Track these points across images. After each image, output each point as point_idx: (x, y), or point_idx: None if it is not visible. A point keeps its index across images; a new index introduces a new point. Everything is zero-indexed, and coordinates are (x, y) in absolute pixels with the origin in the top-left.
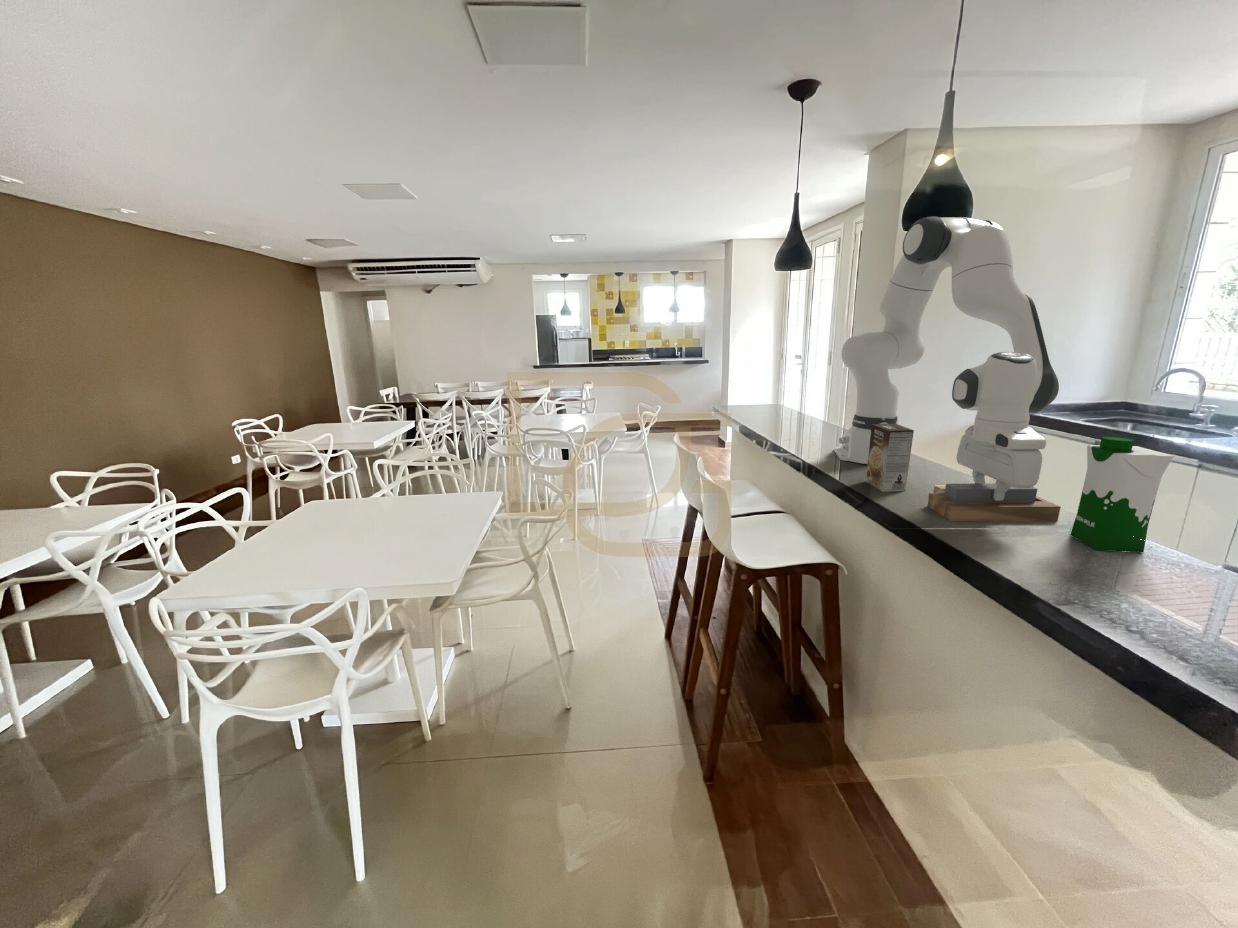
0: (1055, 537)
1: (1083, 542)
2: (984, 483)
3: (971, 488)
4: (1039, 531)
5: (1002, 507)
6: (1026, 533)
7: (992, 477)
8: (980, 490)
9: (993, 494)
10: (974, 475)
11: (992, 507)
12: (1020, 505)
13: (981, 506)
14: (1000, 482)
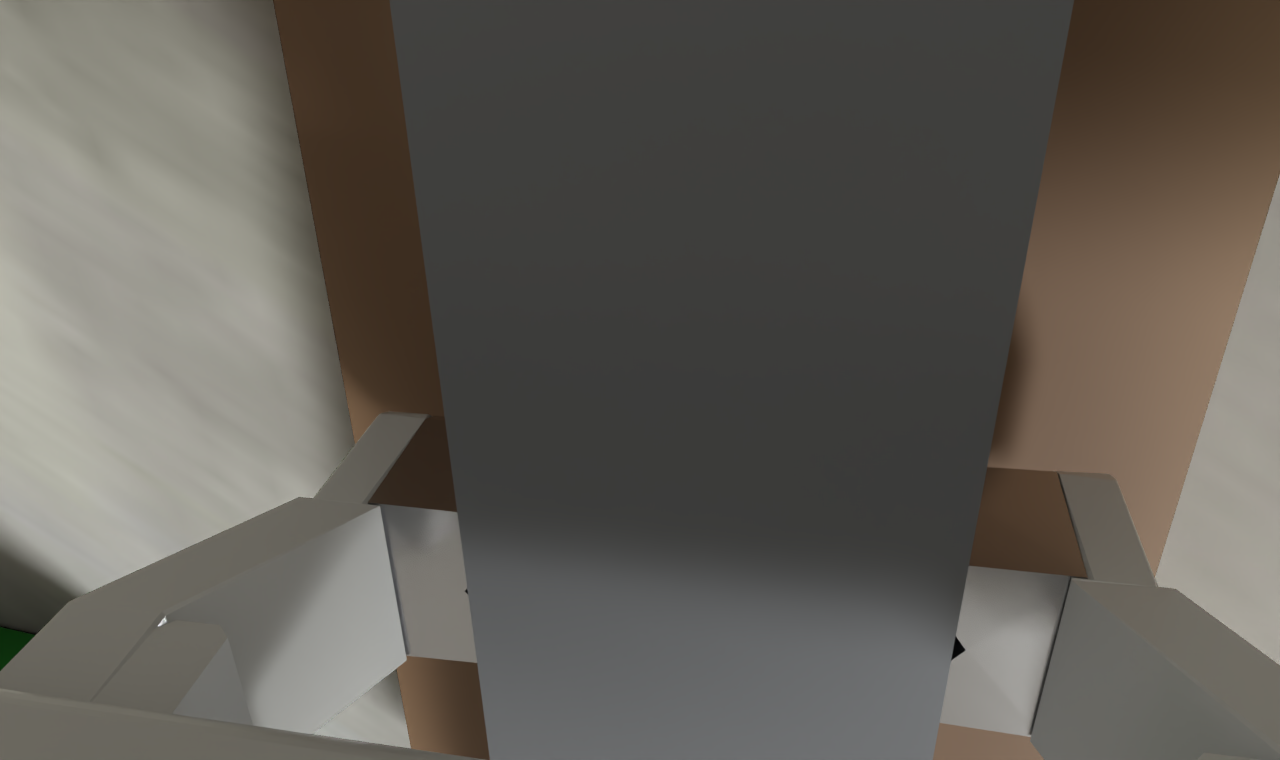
0: (87, 523)
1: (11, 629)
2: (941, 689)
3: (480, 82)
4: (224, 504)
5: (358, 415)
6: (123, 342)
7: (133, 718)
8: (438, 277)
9: (405, 462)
10: (1271, 745)
11: (334, 264)
12: (438, 672)
13: (295, 67)
14: (4, 684)
